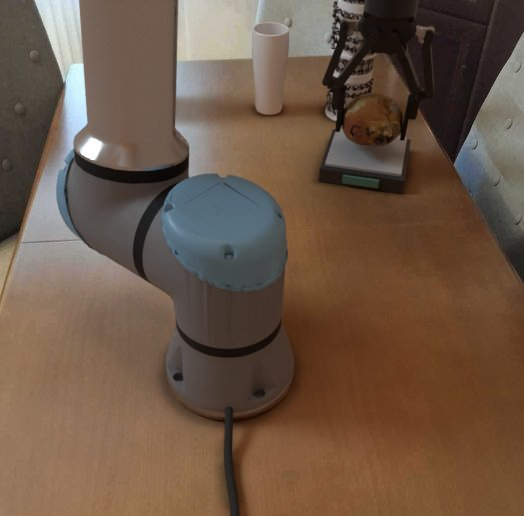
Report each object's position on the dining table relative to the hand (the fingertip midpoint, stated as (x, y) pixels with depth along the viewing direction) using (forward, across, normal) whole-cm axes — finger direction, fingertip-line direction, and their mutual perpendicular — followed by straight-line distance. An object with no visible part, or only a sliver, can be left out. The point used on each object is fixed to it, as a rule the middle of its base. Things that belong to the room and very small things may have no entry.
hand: (370, 132), depth 100 cm
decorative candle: (+7, +6, -19) cm, 21 cm away
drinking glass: (+7, +21, -16) cm, 27 cm away
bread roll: (0, 0, 0) cm, 0 cm away
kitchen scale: (+6, 0, 0) cm, 6 cm away
